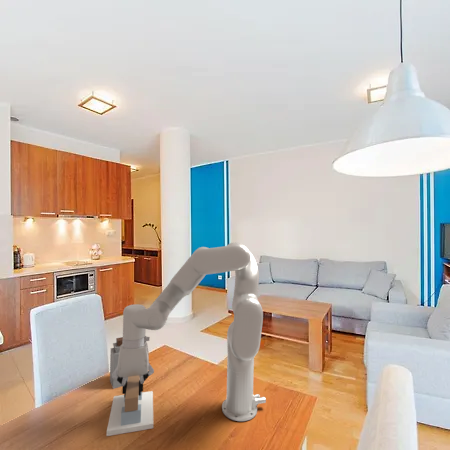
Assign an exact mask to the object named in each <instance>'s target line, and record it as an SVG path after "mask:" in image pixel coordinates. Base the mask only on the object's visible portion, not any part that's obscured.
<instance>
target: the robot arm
mask: <svg viewBox="0 0 450 450" xmlns="http://www.w3.org/2000/svg"><path fill="white" fill-rule="evenodd" d="M227 272H234V273H235V274H234V275H235V279H234V280H235V281H234V287H233V288H234V289H233V297H232V301H231V302H232V303H231V309H232V311H233V312H232V313H233V321H232V322H231V323H230V324H229V326H228V328H227V331H226V332H227V333H226V339H227V341H226V346H227V355H226V356H227V361H226V363H227V365H226V367H227V369H226V398H225V400H224V401H223V402H222V405H221V410H222V413H223V415H224V416H225V417H226V418H228V419H229V420H232V421H237V422H246V421H250V420H252V419H254V418H255V417H256V416H257V414H258V405H261V404H266V402H267V399H266V396H261V395H260V394H259V393H256V394H254V373H255V371H254V368H255V356H256V355H257V354H258V353H259V351H260V347H261V339H262V330H263V329H262V328H263V322H264V310H263V307H262V305H261V303H260V301H259V298H258V294H259V280H260V279H259V278H260V277H259V276H260V271H259V267H258V263H257V260H256V258H255V257H254V254H252V252H251V251H250V249H249V248H248V247H247V246H246V245H244V244H243V243H240V242H237V241H233V242H230V243H228V244H227V245H225V246H217V247H210V248H209V247H206V246H201V247H200V246H199V247H198V248H197V249H195V250H194V251H193V253H192V254H191V255H190V256H189V257H188V259H187V260H186V261H185V262H184V264H182V266H181V267H180V269H179V270H178V271H177V272H176V273H175V274H174V276H173V277H172V278H171V279H170V281H169V282H168V284H167V286H166V287H165V288H164V289H163V290H162V292H161V293H160V294H159V295H158V297H157V298H156V299H155V300H154V301H153V303H151V304H150V306H149V307H148V308H146V307H145V306H144V305H143V304H140V303H139V304H138V303H137V304H129V305H127V306H126V307H124V309H123V313H122V317H123V318H122V337H123V344H122V345H121V346H120V351H119V358H118V367H117V368H116V369H115V371H114V372H113V374H112V378H113V379H115V380H117V381H118V382H119V383H120V384H121V385H122V386H121V387H122V389H121V391H122V394H121V395H124V398H125V395H126V388H127V381H126V379H127V377H130V376H139V377H140V380H139V396H140V395H141V391H142V392H144V383H145V381H146V380H147V379H148V378H149V377H150V376H152V375H153V374H155V370H154V368H153V367H152V365H151V364H150V362H149V360H150V359H149V346H148V342H149V341H150V336H147V335H146V330H151V331H159V330H161V329H162V328H164V327H165V325H166V323H167V320H168V318H169V315H170V314H171V312H172V311H173V310H174V308H175V307H176V306H177V305H178V304H179V303H180V302H181V301H182V299H184V298H185V297H187V296H189V295H190V294H192V292H193V291H195V289H197V287H198V286H199V284H200V283H201V281H202V280H203V279H204V278H205V276H206V275H213V274H215V275H216V274H222V273H227Z"/></svg>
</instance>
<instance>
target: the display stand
mask: <svg viewBox="0 0 450 450" xmlns="http://www.w3.org/2000/svg"><path fill="white" fill-rule="evenodd" d="M150 429H154V392H153V390H151V391H141V395H140V396H139V399H138V410H135V411H128V412H125V398H124V394H121V395H114V396H113V398H112V404H111V408H110V414H109V418H108V423H107V428H106V437H110V436H116V435H121V434H127V433H133V432H140V431H145V430H150Z"/></svg>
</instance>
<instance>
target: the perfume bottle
mask: <svg viewBox="0 0 450 450" xmlns="http://www.w3.org/2000/svg"><path fill="white" fill-rule="evenodd" d="M115 341H116V342H113V343H112V346H113V347H111V348H110V357H109V359H110V362H109V382H110V385H111V388H112V389H118V388H121V387H122V385H121V384H120V383H119V382H118V381H117V380H115V379H113V378H112V374H113V372H114V371H115V369H116V368H117V367H118V358H119V351H120V346H121V345H122V344H123V336H122V337H121V336H120V337H117V338H116V339H115ZM126 381H127V382H128V377H127V379H126Z"/></svg>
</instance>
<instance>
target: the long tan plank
mask: <svg viewBox="0 0 450 450" xmlns="http://www.w3.org/2000/svg"><path fill="white" fill-rule="evenodd" d="M139 380H140V377H139V376H130V377H128V382H127V388H126V395H125V412H128V411H135V410H138V399H139Z"/></svg>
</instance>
